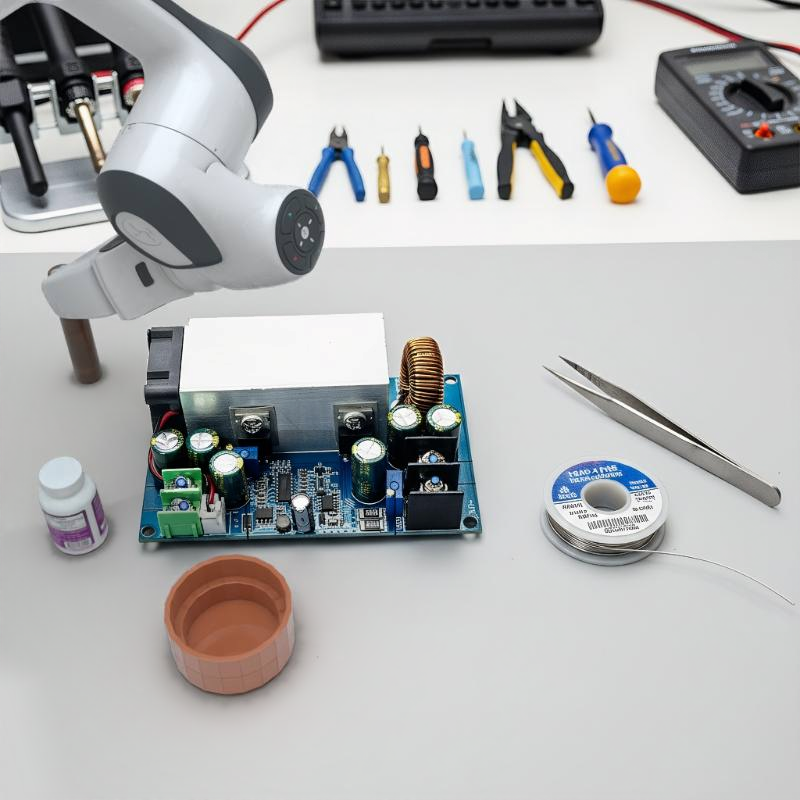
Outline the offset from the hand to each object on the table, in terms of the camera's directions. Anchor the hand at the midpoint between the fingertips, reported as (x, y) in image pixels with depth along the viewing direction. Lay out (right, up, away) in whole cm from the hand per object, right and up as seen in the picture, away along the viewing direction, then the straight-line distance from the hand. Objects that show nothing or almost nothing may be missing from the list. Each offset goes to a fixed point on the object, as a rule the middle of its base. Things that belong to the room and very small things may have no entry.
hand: (94, 253), depth 99 cm
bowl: (+15, -37, -8) cm, 41 cm away
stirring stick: (-6, -12, +16) cm, 21 cm away
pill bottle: (-1, -28, 0) cm, 28 cm away
